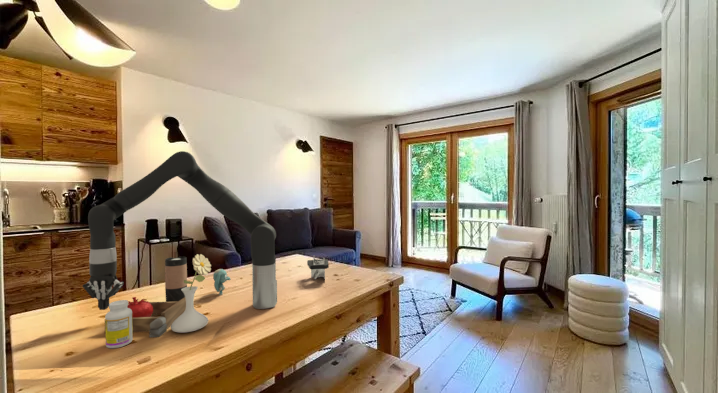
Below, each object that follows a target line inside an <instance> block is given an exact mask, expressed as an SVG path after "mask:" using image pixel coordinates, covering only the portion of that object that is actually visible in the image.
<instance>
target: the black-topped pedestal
mask: <svg viewBox="0 0 718 393" xmlns="http://www.w3.org/2000/svg"><path fill="white" fill-rule="evenodd" d="M306 262H307V267H308V268H309V269H310V271H311V272H310V274H311V275H310V277H311V278H313V280H316V279H317V278H326V270H327V269H329V259H325V257H323V258H320V259H316V258H315V256H313V259H309V260H308V259H307V261H306Z"/></svg>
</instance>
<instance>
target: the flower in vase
mask: <svg viewBox="0 0 718 393" xmlns="http://www.w3.org/2000/svg"><path fill="white" fill-rule="evenodd" d="M191 263H192V265H193V270H194V271H195V274H194V277H193V280H192V281H190V280H187V281H186V280H184V283H185V284H187V285H190V286H187V287H185V288H182V289H181V290H182V291H183V293H184V295H185V298H186V310H185V311H184V313H183V314H182V315H180V316H179V317H178V318H177V319H176V320H175V321H174V322H173V323H172V325H171V326H170V329H171V331H172V332H175V333H181V334H182V333H192V332H194V331H198V330H200V329H203V328H204V327H205V326H206V325H208V323H209V317H207V316H206V315H205V314H203V313H201V312H199V311H198V310H196V309H195V306H194V300H195V294H196V291H197V290H198V289H199V288H198V286H195V285H193V284H194V282H195V281H197V282H198V283H201V282H203V281H204V280H205V279H206V277H205V276H207V275H208V274H209V273H211V270H212V268H211V267H212V264H211V261H209V258H208V257H205V255H204V254H202V253H200V254H198V253H197V254H196V255H194V257H192V262H191ZM197 274H198V275H197Z"/></svg>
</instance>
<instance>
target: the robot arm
mask: <svg viewBox="0 0 718 393" xmlns="http://www.w3.org/2000/svg"><path fill="white" fill-rule="evenodd" d="M176 177H178V178H180V179H181V180H182V181H184V182H186V183H187V184H188V185H189V186H191V187H192V188H193V189H195V190H196V191H197V192H198V193H199V194H200V195H201V197H202V198H204V199H205V201H206V202H207V203H208V204H210V205H211V207H212V208H214V209H215V210H216V211H217V212H219V214H221V215H222V216H224V217H225V218H227V219H229V220H230V221H231V222H234V223H236V224H238V225H240V226H241V227H242V228H243V229H245V231H246V232H248V234H250V254H251V255H250V256H251V257H250V258H251V262H252V263H251V265H252V266H251V267H252V268H251V269H252V270H251V271H252V272H251V273H252V279H251V280H252V307H253V308H255V309H257V310H258V309H260V310H264V309H270V308H275V307H276V305H277V303H278V280H277V279H276V278H277V277H276V276H277V274H276V273H277V270H276V268H277V266H276V263H277V262H276V260H277V257H276V252H275V251H276V250H275V249H276V247H275V244H276V243H275V242H276V241H275V240H276V238H277V231H276V229H275V228H274V226H272V225H271V224H270V223H268V222H267V221H265V220H264V219H263V218H261V217H260V216H258V215H257V214H255V212H254V211H252V209H250V208H249V207H248V205H247V204H246V203H244V202H243V201H242V200H241V199H240V198H239V197H238V196H237V195H236V194H235V193H234V192H233V191H232V190H230V188H228V187H227V186H225V185H223V184H221V183H220V182H218V181H217V180H215V179H213V178H212V177H211V176H209V175H208V174H207V173H206V172H205V171H204V170H203V168H201V167H200V165H199V164H198V163H197V161H196V158H195V157H194V155H193V154H191V153H190V152H188V151H183V150H182V151H177V152H175V153H173V154H172V155H171V156H169V157H168V158H167V159H166V160H165V161H163V163H161V164H160V165H159V166H157V167H156V168H155V169H154V170H152V171H151V172H149V173H148V174H146V176H144V177H142V178H141V179H139V180H137V181H135V182H134V183H133V184H131V185H129V186H127V187H125V188H124V189H122V190H121V191H120V192H119V191H118V193H117V194H116V195H115V196H113V197H111V198H110V199H108V200H106V201H105V202H103V203H101V204H98V205H95V206H93V207H91V209H90V210H89V212H88V216H87V221H88V229H89V234H90V235H89V236H90V239H89V240H90V241H89V256H88V257H89V259H88V261H89V266H88V267H89V270H88V272H89V273H88V274H89V275H90V276H89V281H87V282H86V283H84V284H82V288H83V289H84V290H85V292H87V294H88V295H89V296H90V297H91V298H92V299H94V298H95V299H96V300H97V308H98V309H99V311H105V310H107V309H108V308H109V304H110V298H112V297H113V296H116V294H117V293H118V292H119V290H120V289H121V288H122V287H123V285H124V281H120V280H118V277H117V270H118V269H117V268H118V267H117V264H118V263H117V262H118V259H117V257H118V256H117V248H116V246H117V245H116V243H117V242H116V239H117V238H116V233H115V231H114V225H115V224H114V222H115V220H116V219H118V218H119V217H121V216H122V215H123V214H125V213H126V212H128V211H130V210H131V209H134V208H135V207H136V206H138V205H140V204H142V203H143V202H144V201H146V200H149V198H150V197H151V196H153V195H154V194H155V193H156V192H157V191H158V190H159V189H160V188H161V187H162V186H164V184H166V183H167V182H169V181H171V180H172V179H175V178H176Z"/></svg>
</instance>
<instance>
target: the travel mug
mask: <svg viewBox="0 0 718 393" xmlns="http://www.w3.org/2000/svg"><path fill="white" fill-rule="evenodd" d="M164 260H165V262H164V264H165V266H164V267H165V268H164V270H165V272H164V275H165V276H164V277H165V278H164V279H165V280H164V287H165V288H164V290H165V302H174V301H180V300H181V299H183V298H184V297H185V295H184V293H183V291H182V290H181V289H182V288H185V287H188V284H185V283H184V280H186V281H188V270H187V269H188V265H187V264H188V262H187V261H188V260H187V257H186V256H178V257H166V258H165V259H164Z"/></svg>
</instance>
